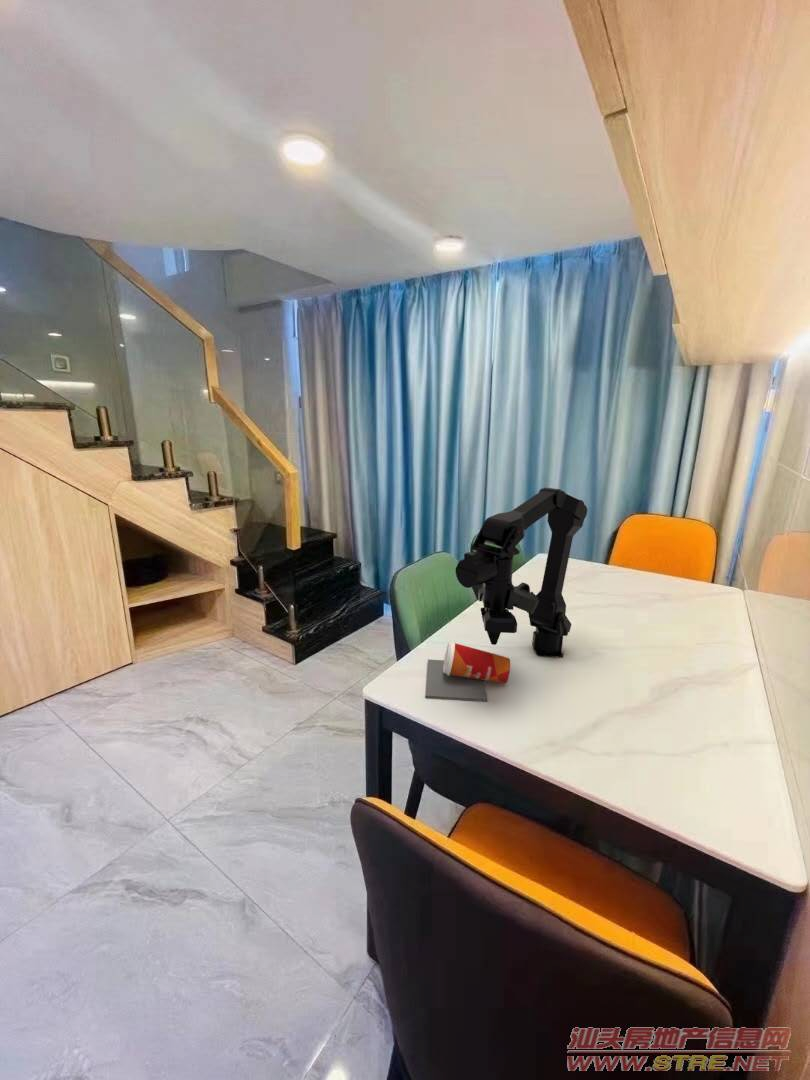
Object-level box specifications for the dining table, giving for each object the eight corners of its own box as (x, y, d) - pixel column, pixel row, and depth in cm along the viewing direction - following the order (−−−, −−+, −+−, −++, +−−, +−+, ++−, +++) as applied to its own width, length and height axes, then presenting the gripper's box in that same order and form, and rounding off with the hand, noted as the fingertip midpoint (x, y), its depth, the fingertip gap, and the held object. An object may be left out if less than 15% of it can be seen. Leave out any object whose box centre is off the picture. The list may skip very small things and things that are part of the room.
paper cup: (501, 690, 101) (441, 677, 101) (504, 657, 104) (446, 645, 105) (510, 684, 94) (445, 670, 95) (513, 649, 97) (450, 636, 98)
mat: (481, 664, 107) (481, 662, 107) (487, 701, 92) (487, 699, 92) (427, 661, 108) (427, 659, 108) (425, 698, 93) (425, 695, 93)
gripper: (547, 594, 84) (539, 668, 87) (528, 564, 102) (523, 627, 105) (487, 592, 84) (483, 665, 88) (479, 563, 102) (476, 624, 106)
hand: (493, 643), depth 97 cm, fingers closed
